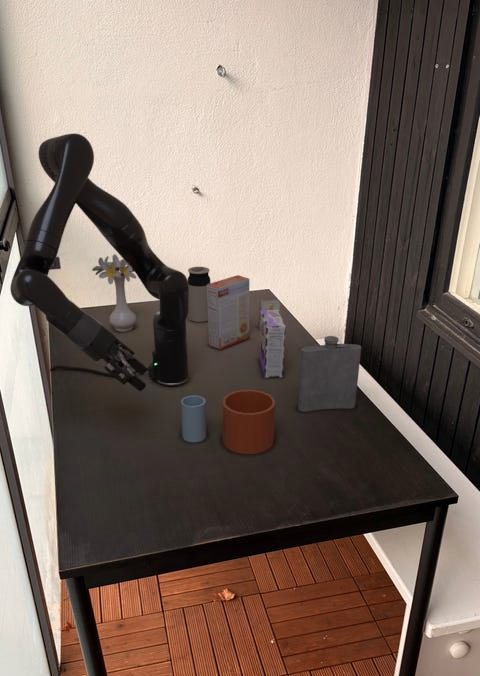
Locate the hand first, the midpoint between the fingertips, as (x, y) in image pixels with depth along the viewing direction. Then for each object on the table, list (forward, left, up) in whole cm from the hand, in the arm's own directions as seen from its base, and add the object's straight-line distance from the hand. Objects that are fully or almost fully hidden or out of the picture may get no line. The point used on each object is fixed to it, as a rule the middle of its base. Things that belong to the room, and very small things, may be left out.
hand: (144, 380), depth 153 cm
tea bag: (+12, +81, -16) cm, 83 cm away
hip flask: (+40, +29, -16) cm, 52 cm away
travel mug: (-14, +83, -16) cm, 85 cm away
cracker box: (+2, +65, -16) cm, 67 cm away
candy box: (+20, +49, -16) cm, 55 cm away
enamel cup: (+11, +4, -16) cm, 20 cm away
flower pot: (+24, +6, -16) cm, 30 cm away
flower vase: (-36, +67, -16) cm, 77 cm away
